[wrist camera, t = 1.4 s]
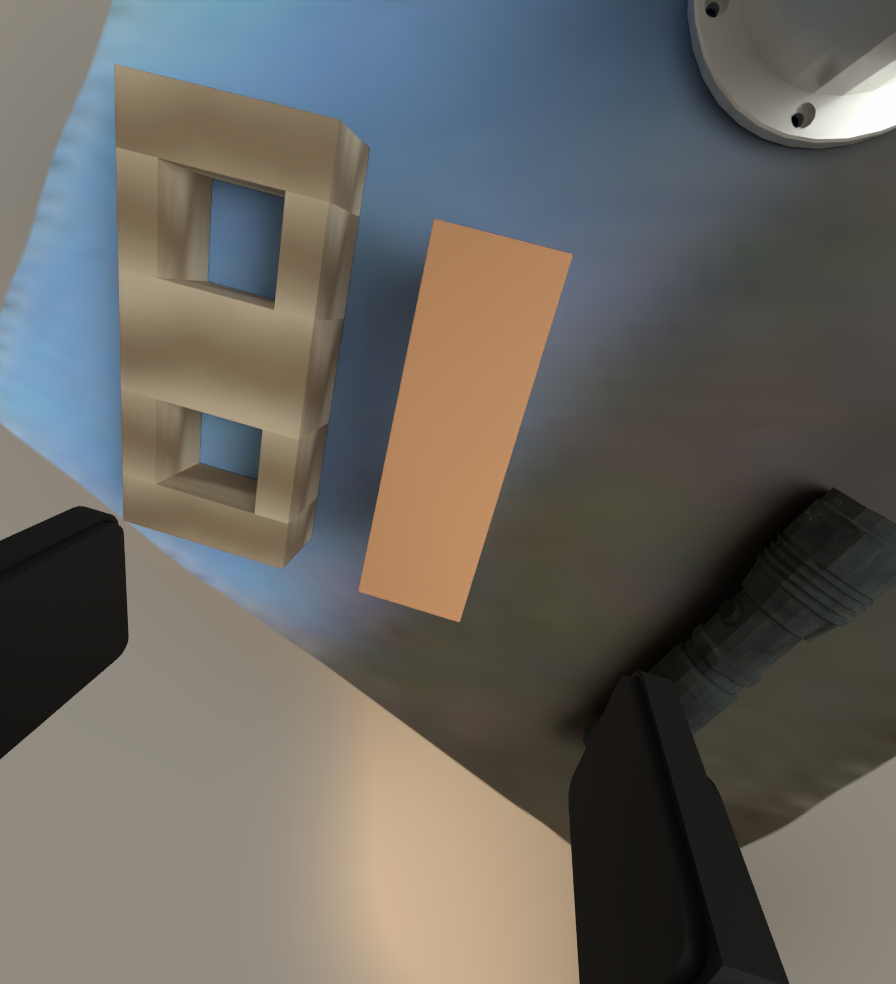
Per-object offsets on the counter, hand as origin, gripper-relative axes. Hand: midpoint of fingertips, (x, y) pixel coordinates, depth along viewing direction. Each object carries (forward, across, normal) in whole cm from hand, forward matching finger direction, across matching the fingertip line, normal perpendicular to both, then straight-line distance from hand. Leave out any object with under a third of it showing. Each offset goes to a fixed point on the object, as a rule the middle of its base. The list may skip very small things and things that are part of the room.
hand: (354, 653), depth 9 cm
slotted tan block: (+20, +13, 0) cm, 24 cm away
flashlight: (+21, -17, +9) cm, 28 cm away
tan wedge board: (+20, 0, 0) cm, 20 cm away
